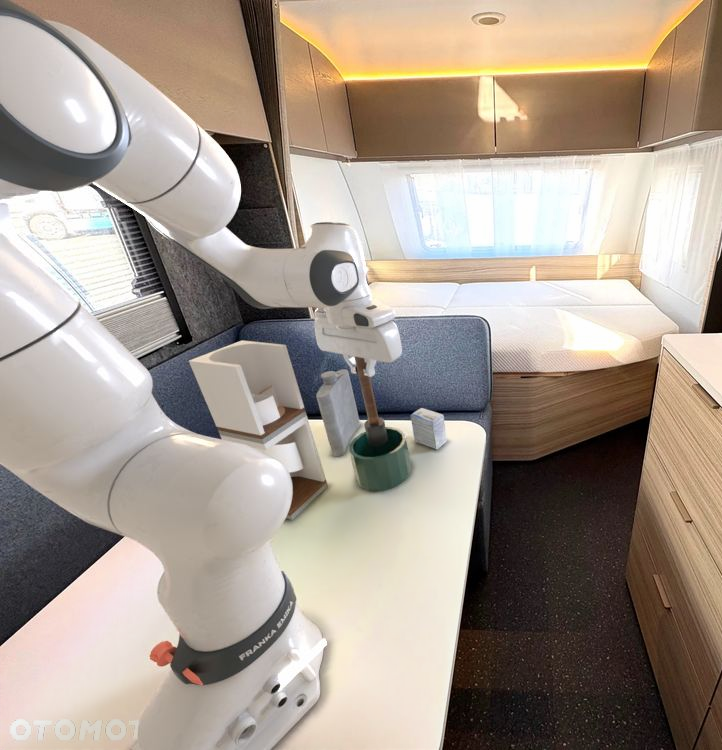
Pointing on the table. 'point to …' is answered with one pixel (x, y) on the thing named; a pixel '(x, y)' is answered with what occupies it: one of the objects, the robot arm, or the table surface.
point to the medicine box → (429, 428)
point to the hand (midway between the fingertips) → (363, 374)
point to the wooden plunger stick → (371, 409)
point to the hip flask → (338, 409)
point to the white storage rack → (263, 410)
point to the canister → (380, 461)
